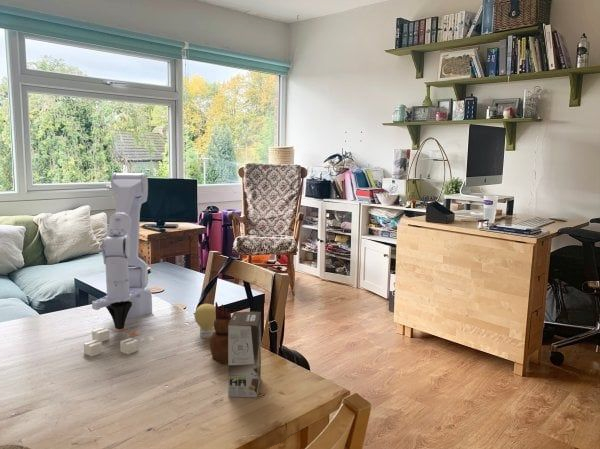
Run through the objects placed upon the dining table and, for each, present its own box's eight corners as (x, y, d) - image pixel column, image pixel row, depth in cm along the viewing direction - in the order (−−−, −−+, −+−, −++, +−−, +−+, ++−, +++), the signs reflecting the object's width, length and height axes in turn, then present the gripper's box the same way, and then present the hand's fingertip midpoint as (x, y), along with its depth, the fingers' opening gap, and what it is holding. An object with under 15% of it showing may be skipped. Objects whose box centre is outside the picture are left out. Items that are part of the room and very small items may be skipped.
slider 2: (130, 347, 127) (130, 337, 127) (138, 350, 126) (137, 340, 125) (120, 351, 125) (120, 341, 124) (128, 354, 123) (127, 344, 123)
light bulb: (213, 345, 133) (213, 309, 131) (191, 342, 134) (190, 307, 132) (222, 336, 139) (221, 301, 137) (200, 334, 140) (199, 299, 138)
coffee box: (257, 398, 106) (257, 325, 103) (227, 397, 106) (226, 325, 103) (261, 378, 115) (262, 310, 112) (233, 377, 115) (233, 310, 112)
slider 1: (102, 336, 134) (102, 326, 134) (109, 339, 132) (108, 329, 132) (92, 339, 132) (91, 330, 131) (99, 342, 130) (98, 332, 130)
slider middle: (95, 349, 126) (94, 339, 125) (102, 352, 124) (101, 342, 124) (84, 353, 123) (83, 343, 123) (91, 356, 122) (90, 346, 121)
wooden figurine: (205, 362, 122) (204, 303, 120) (220, 353, 128) (219, 297, 125) (228, 368, 119) (227, 308, 117) (242, 359, 124) (241, 301, 122)
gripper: (102, 288, 126) (105, 339, 128) (149, 276, 138) (150, 323, 140) (86, 283, 130) (88, 333, 132) (133, 272, 142) (134, 318, 144)
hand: (119, 328), depth 136 cm, fingers closed
